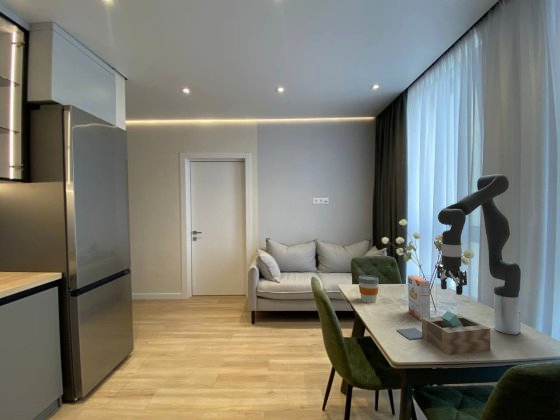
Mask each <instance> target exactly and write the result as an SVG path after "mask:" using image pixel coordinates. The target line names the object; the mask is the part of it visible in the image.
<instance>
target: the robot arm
mask: <svg viewBox="0 0 560 420" xmlns="http://www.w3.org/2000/svg"><path fill="white" fill-rule="evenodd" d="M476 183H477V184H476V188H477V190H476V191H474V192H471V193H469V194H467V195H465V196H463V197H461V199H459V200H458V201H457V202H455V203H453V204H450V205H448V206H446V207H444V208H442V209H441V210H440V211H439V213H438V215H437V219H438V222H439V223H440V224H441V225H445V226H451V227H450V229H449V230H444V231H443V232H442V234H441V237H442V238H441V259H440V260H441V265H437V271H436V278H437V279H439V280H440V288H441V290H447V286H448V285H447V283H448V281H447V280H448V279H449V278H450V279H451V280H452V282H454V283H455V294H456V295H457V296H460V295H462V294H463V292H464V291H463V287H464V286H468V277H467V274H468V273H467V271H466V270H461V269H460V268H461V266H462V260H463V259H462V258H463V257H462V255H463V254H462V252H463V251H462V234H463V230H464V227H465V224H466V220H467V216H469V215H471V214H472V212H474V211H475V210H476V209H478V208H479V207H481V209H482V214H483V220H484V228H485V234H486V241H487V247H488V268H489V273H490V275H491V277H492V278H494V279H496V280H500V281H503V282H504V284H503V285H500V286H495V287H494V289H493V301H494V304H493V305H494V306H493V308H494V309H493V310H494V311H493V312H494V318H493V320H494V321H493V322H494V330H496V331H497V332H500V333H503V334H508V335H518V334H520V333H521V332H522V331H521V329H522V328H521V326H522V325H521V312H520V311H519V309H520V307H519V306H520V305H519V304H520V303H519V301H520V300H519V294H520V290H521V279H522V271H521V268H520V266H519V264H518V263H516V262H511V261H506V260H503V253H502V252H503V249H504V247H505V245H506V244H507V242H508V240H509V238H510V235H511V231H510V230H511V229H510V225H509V224H510V223H509V220H508V218H507V217H506V215H505V214H504V213H503V212H502V211H501V209H499V207H498V206H497V205H496V202H495V201H494V198H496V197H497V196H500V195H502V194H504V193H505V192H507V190H508V188H509V185H510V182H509V179H508V177H507V176H506V175H504V174H501V173H500V174H499V173H498V174H489V175H482V176H479V177H478V179H477V181H476Z"/></svg>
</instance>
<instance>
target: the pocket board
mask: <svg viewBox="0 0 560 420" xmlns="http://www.w3.org/2000/svg"><path fill="white" fill-rule="evenodd" d="M455 315H456V316H457V318H458V319H459V320H460V322H461V323H462V325H463V326H464V327H461V326H457V327H448V326H447V324H446V323H445V322H444V320H443V319H442V316H443V315H441V316H430V317H428V318H422V320H421V332H422V337H423V340H425V341H426V342H428V343H429V344H430V345H432V346H434V347H436V348H437V349H438V350H440V351H441V352H443V353H444V354H446V355H449V356H450V355H451V356H452V355H460V354H468V353H475V352H476V353H477V352H485V351H491V328H490V327H488V326H486V325H484V324H481V323H479V322H477V321H475V320H473V319H471V318H468V317H467V316H464V315H462V314H455Z"/></svg>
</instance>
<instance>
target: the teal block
mask: <svg viewBox="0 0 560 420" xmlns="http://www.w3.org/2000/svg"><path fill="white" fill-rule="evenodd" d="M456 315H457V314H456V313H453V312H450V311H448V310H446V312H445V313H444V314H442V315H441V316H442V319H443V320H444V322H445V323H446V324H447V326H448V327H457V326H461V327H464V326H463V325H462V323H461V322H460V320H459V319H458V318H457V316H456Z"/></svg>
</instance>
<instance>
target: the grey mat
mask: <svg viewBox="0 0 560 420" xmlns="http://www.w3.org/2000/svg"><path fill="white" fill-rule="evenodd" d="M396 332H397V333H399V334H400V333H401V334H400V335H402V336H403V337H405V338H406V339H408V340H409V341H413V340H414V341H415V340H422V339H423V337H422V330H420V329H418V328H417V327H412V328H411V327H410V328H401V329H400V328H398V329H396ZM423 340H424V339H423Z"/></svg>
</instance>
